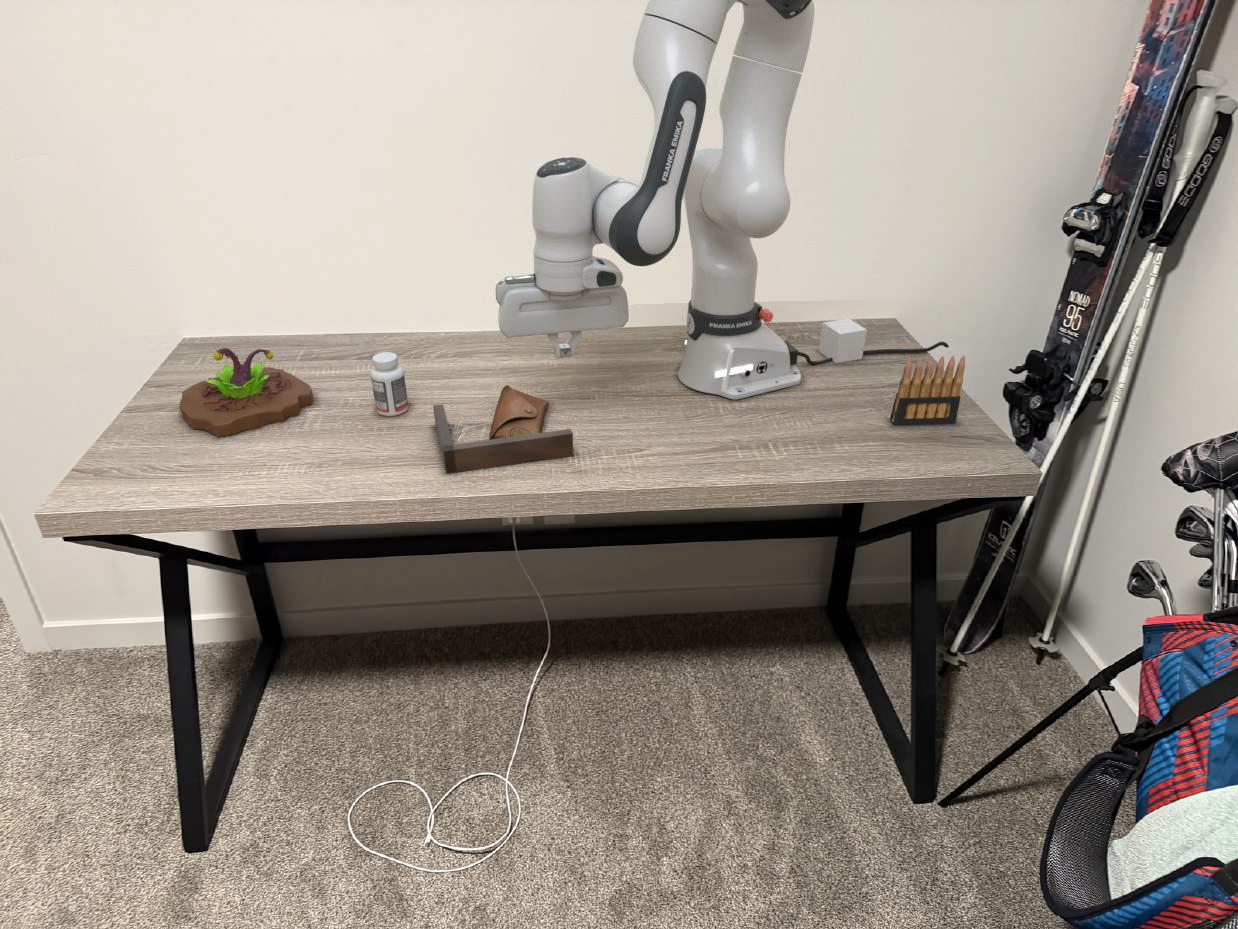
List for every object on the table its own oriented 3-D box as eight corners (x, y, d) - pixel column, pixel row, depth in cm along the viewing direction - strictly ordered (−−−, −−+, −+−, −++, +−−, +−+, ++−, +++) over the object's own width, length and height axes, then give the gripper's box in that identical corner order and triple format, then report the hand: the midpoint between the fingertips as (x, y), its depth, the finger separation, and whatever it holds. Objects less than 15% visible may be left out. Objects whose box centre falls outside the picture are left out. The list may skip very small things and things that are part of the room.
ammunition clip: (951, 418, 144) (967, 353, 138) (955, 423, 142) (971, 358, 136) (889, 420, 143) (902, 354, 137) (893, 425, 142) (906, 359, 135)
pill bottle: (406, 400, 148) (399, 348, 143) (410, 414, 144) (403, 361, 138) (374, 405, 146) (366, 352, 141) (378, 419, 142) (369, 365, 137)
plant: (162, 405, 145) (143, 345, 139) (270, 370, 157) (257, 313, 151) (216, 447, 134) (198, 383, 128) (328, 405, 146) (316, 345, 140)
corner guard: (552, 411, 145) (551, 390, 143) (573, 456, 132) (572, 433, 130) (435, 426, 140) (433, 405, 138) (446, 474, 128) (443, 451, 126)
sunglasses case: (543, 453, 132) (519, 420, 129) (505, 472, 134) (481, 440, 131) (549, 399, 147) (528, 369, 144) (516, 417, 149) (494, 388, 146)
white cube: (835, 363, 162) (840, 334, 159) (818, 351, 167) (822, 322, 164) (862, 358, 164) (867, 329, 161) (844, 346, 169) (848, 318, 166)
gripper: (498, 284, 124) (503, 370, 131) (633, 273, 129) (630, 357, 136) (491, 270, 129) (496, 354, 136) (621, 260, 134) (619, 342, 141)
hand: (564, 356), depth 136 cm, fingers closed
